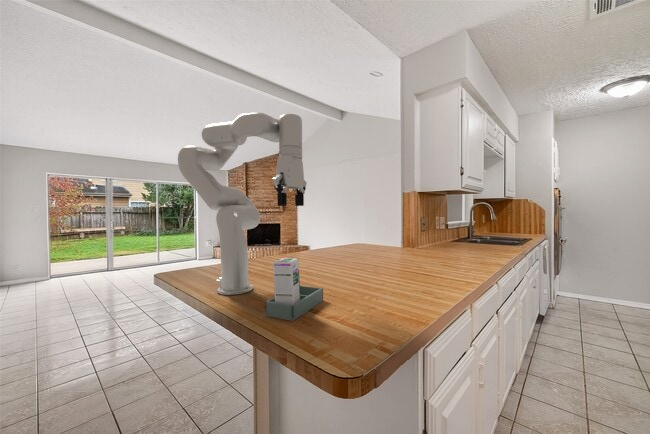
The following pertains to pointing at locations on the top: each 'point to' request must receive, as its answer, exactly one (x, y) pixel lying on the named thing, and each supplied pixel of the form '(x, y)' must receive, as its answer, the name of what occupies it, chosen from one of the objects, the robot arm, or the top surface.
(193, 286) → the top surface
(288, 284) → the syrup box
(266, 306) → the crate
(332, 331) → the top surface
